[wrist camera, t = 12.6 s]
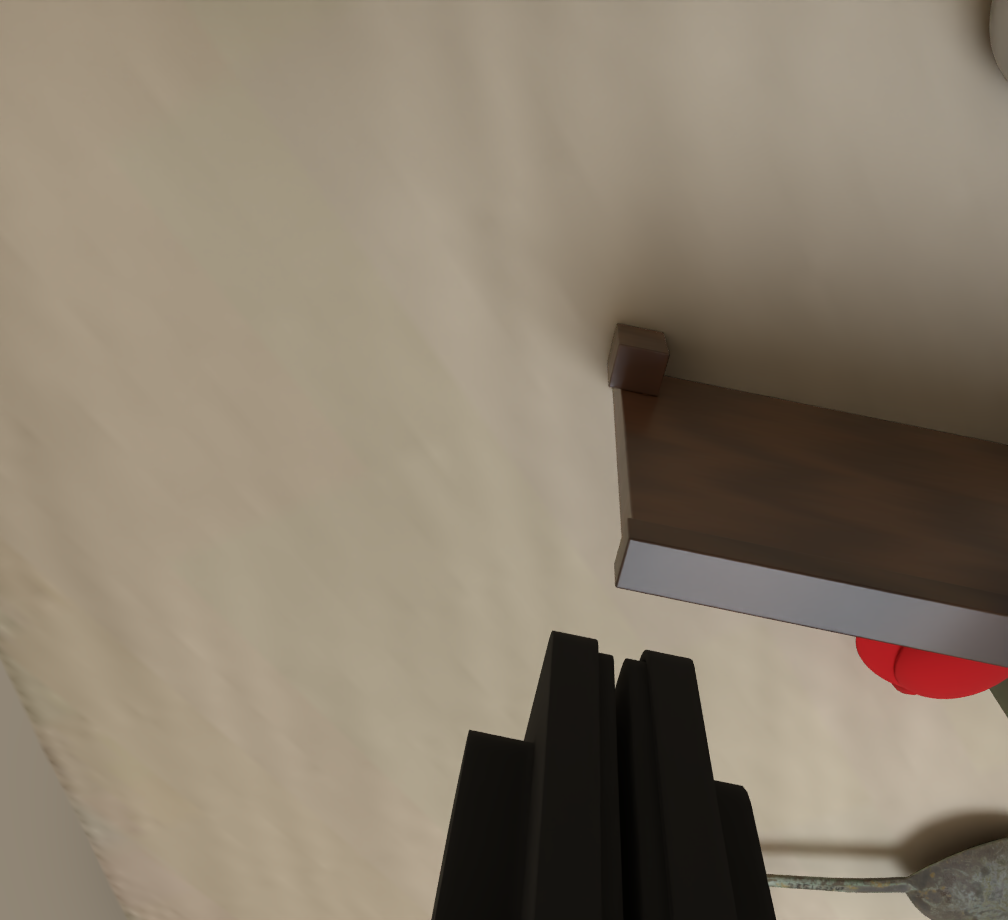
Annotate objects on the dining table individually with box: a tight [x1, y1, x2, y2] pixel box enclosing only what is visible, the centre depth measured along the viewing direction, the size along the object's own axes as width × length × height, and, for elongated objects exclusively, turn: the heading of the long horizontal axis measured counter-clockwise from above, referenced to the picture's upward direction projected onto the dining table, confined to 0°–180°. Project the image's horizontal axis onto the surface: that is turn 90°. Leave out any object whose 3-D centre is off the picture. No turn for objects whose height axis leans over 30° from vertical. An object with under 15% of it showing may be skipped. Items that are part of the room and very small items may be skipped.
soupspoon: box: [766, 837, 1008, 920], centre depth 45 cm, size 22×3×7 cm
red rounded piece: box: [856, 637, 1008, 699], centre depth 37 cm, size 8×6×6 cm
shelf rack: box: [607, 324, 1008, 717], centre depth 31 cm, size 23×13×15 cm, turn 80°
